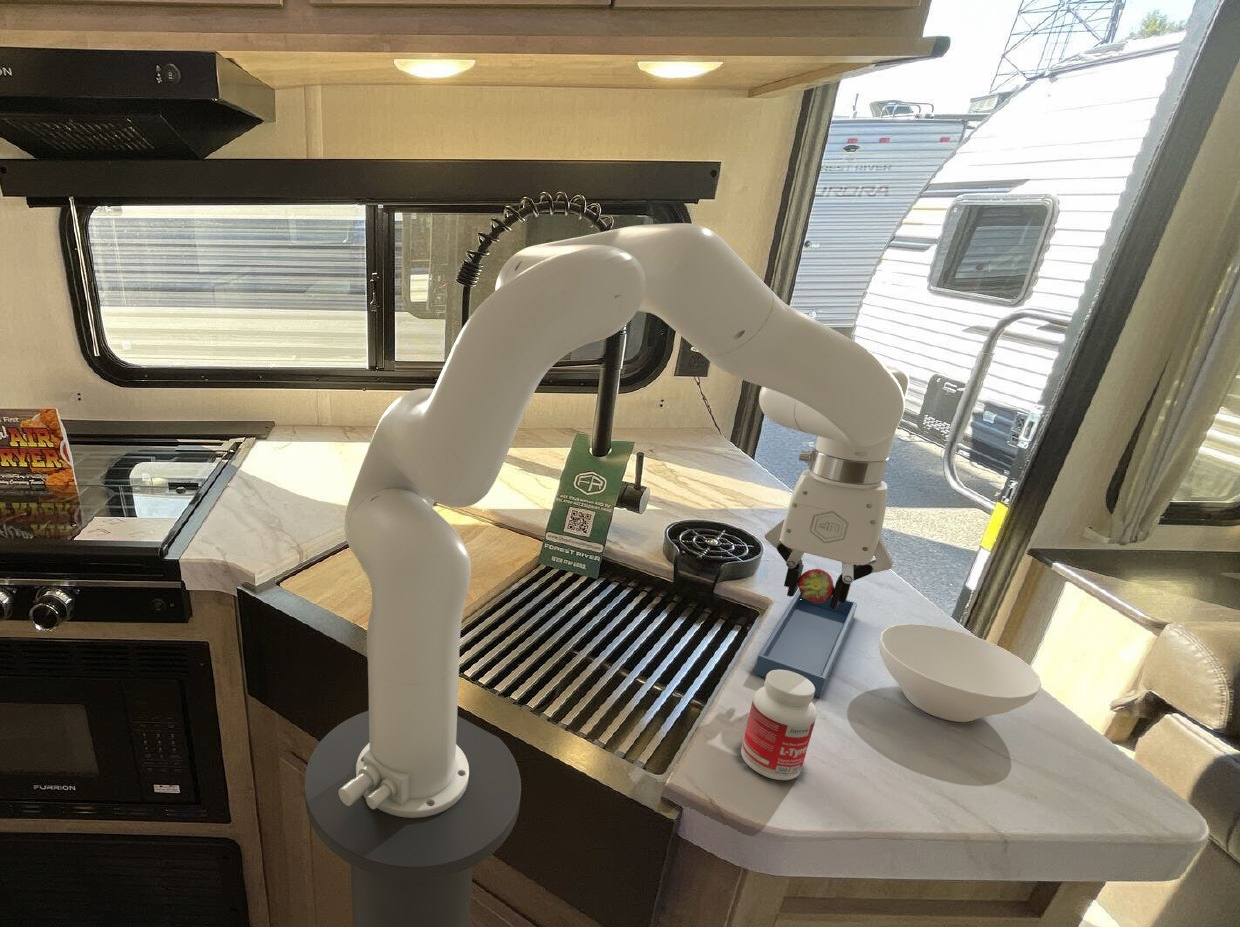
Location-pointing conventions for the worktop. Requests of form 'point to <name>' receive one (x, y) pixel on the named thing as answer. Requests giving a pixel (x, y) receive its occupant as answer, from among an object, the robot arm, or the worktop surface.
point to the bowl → (956, 672)
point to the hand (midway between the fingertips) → (813, 597)
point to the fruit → (816, 585)
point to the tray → (807, 640)
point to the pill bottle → (780, 725)
